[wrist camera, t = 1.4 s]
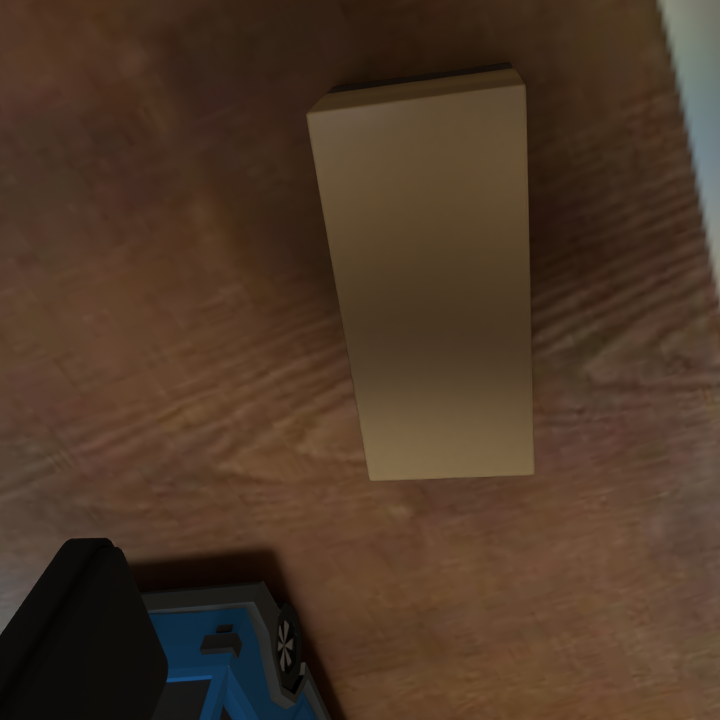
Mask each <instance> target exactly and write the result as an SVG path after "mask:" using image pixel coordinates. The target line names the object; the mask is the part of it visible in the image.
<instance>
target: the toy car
mask: <svg viewBox="0 0 720 720" xmlns="http://www.w3.org/2000/svg"><path fill="white" fill-rule="evenodd" d="M140 595H141V597H142V599H143V602H144V604H145V607H146V609H147V612H148V614H149V616H150V619H151V621H152V624H153V626H154V628H155V631H156V633H157V636H158V638H159V641H160V643H161V645H162V648H163V650H164V653H165V655H166V657H167V661H168V677H167V681H166V684H165V687H164V690H163V692H162V695H161V697H160V699H159V702H158V704H157V707H156V709H155V712H154V714H153V717H152V719H151V720H331V717H330V715H329V713H328V711H327V709H326V706H325V704H324V702H323V700H322V698H321V695H320V693H319V691H318V689H317V686H316V684H315V682H314V680H313V678H312V675H311V673H310V671H309V669H308V666H307V664H306V662H301V651H302V636H301V632H300V627H299V622H298V618H297V613H296V611H295V610H294V609H293V608H292V607H291V606H289V605H288V604H287V603H286V602H278V603H275V601H274V599H273V598H272V596H271V594H270V592H269V590H268V589H267V587H266V585H265V583H264V581H255V582H245V583H234V584H223V585H212V586H202V587H191V588H180V589H169V590H158V591H149V592H140Z"/></svg>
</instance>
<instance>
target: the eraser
mask: <svg viewBox="0 0 720 720" xmlns="http://www.w3.org/2000/svg"><path fill="white" fill-rule="evenodd" d="M306 118H307V124H308V129H309V135H310V141H311V147H312V152H313V158H314V164H315V170H316V175H317V181H318V187H319V193H320V198H321V204H322V210H323V216H324V221H325V227H326V233H327V239H328V244H329V250H330V256H331V262H332V267H333V273H334V279H335V285H336V290H337V296H338V302H339V308H340V313H341V319H342V325H343V331H344V336H345V342H346V348H347V354H348V359H349V365H350V371H351V377H352V382H353V388H354V394H355V399H356V405H357V411H358V417H359V422H360V428H361V434H362V440H363V445H364V451H365V457H366V463H367V468H368V474H369V479H370V481H385V480H411V479H438V478H464V477H491V476H517V475H534V473H535V466H534V422H533V378H532V334H531V290H530V246H529V202H528V158H527V114H526V86H525V84H524V82H523V81H522V79H521V77H520V76H519V74H518V73H517V71H516V70H515V69H514V67H513V66H512V64H511V63H503V64H495V65H488V66H481V67H474V68H467V69H459V70H452V71H445V72H438V73H431V74H423V75H416V76H409V77H402V78H395V79H387V80H380V81H373V82H366V83H359V84H352V85H344V86H337V87H333V88H331V89H330V90H329V91H328V92H327V93H326V94H325V95H324V96H323V97H322V98H321V99H320V100H319V101H318V102H317V103H316V104H315V105H314V106H313V107H312V108H311V109H310V110H309V111H308V112H307V113H306Z"/></svg>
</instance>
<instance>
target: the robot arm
mask: <svg viewBox="0 0 720 720" xmlns="http://www.w3.org/2000/svg"><path fill="white" fill-rule="evenodd" d="M167 677H168V661H167V657H166V655H165V653H164V650H163V648H162V645H161V643H160V641H159V638H158V636H157V633H156V631H155V628H154V626H153V624H152V621H151V619H150V616H149V614H148V612H147V609H146V607H145V604H144V602H143V599H142V597H141V595H140V592H139V590H138V587H137V585H136V583H135V580H134V578H133V575H132V573H131V571H130V568H129V566H128V563H127V561H126V558H125V556H124V554H123V552H122V550H121V549H120V548H118V547H114V545H113V544H112V542H111V541H110V540H109V539H107V538H80V539H70V540H68V541H66V542H65V543H64V544H63V545H62V547H61V548H60V550H59V551H58V552H57V554H56V555H55V557H54V558H53V560H52V561H51V563H50V564H49V565H48V567H47V568H46V570H45V571H44V573H43V574H42V576H41V577H40V578H39V580H38V581H37V583H36V584H35V586H34V587H33V589H32V590H31V592H30V593H29V594H28V596H27V597H26V599H25V600H24V602H23V603H22V605H21V606H20V607H19V609H18V610H17V612H16V613H15V615H14V616H13V618H12V619H11V620H10V622H9V623H8V625H7V626H6V628H5V629H4V631H3V632H2V634H1V635H0V720H151V719H152V717H153V714H154V712H155V709H156V707H157V704H158V702H159V699H160V697H161V695H162V692H163V690H164V687H165V684H166V681H167Z"/></svg>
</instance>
